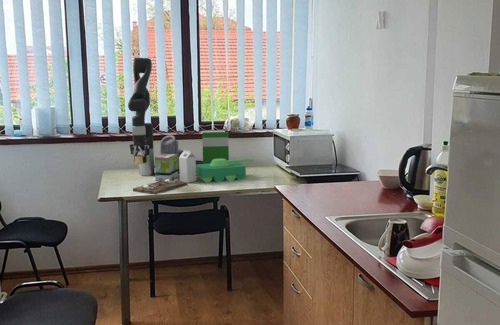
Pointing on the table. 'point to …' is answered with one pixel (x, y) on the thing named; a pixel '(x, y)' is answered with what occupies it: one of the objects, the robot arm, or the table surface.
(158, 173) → the tea box
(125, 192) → the table surface
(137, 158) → the brass ring gear
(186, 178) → the milk carton
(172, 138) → the grey watering can
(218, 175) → the toy tank
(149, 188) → the gear board
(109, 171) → the table surface
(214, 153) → the hardback book
